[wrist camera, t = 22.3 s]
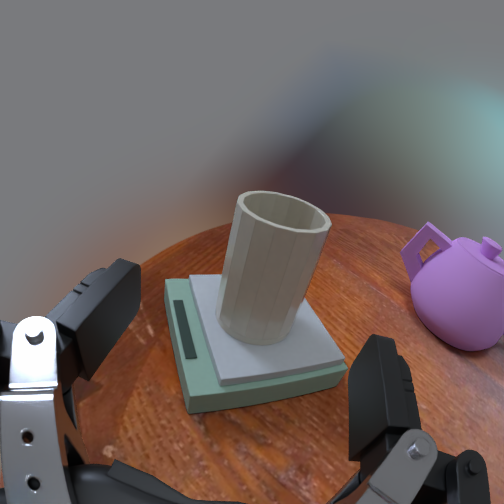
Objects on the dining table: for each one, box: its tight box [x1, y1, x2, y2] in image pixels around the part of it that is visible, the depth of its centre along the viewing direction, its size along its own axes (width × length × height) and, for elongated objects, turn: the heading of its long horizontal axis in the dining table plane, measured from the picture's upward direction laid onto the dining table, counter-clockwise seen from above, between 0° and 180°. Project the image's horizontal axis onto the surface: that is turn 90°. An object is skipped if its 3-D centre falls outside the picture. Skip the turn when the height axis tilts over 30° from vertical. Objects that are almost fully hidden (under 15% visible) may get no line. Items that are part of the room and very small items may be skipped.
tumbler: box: [215, 191, 332, 345], centre depth 21 cm, size 6×6×9 cm
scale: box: [164, 275, 348, 414], centre depth 24 cm, size 12×12×3 cm
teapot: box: [400, 222, 504, 351], centre depth 32 cm, size 22×16×12 cm
